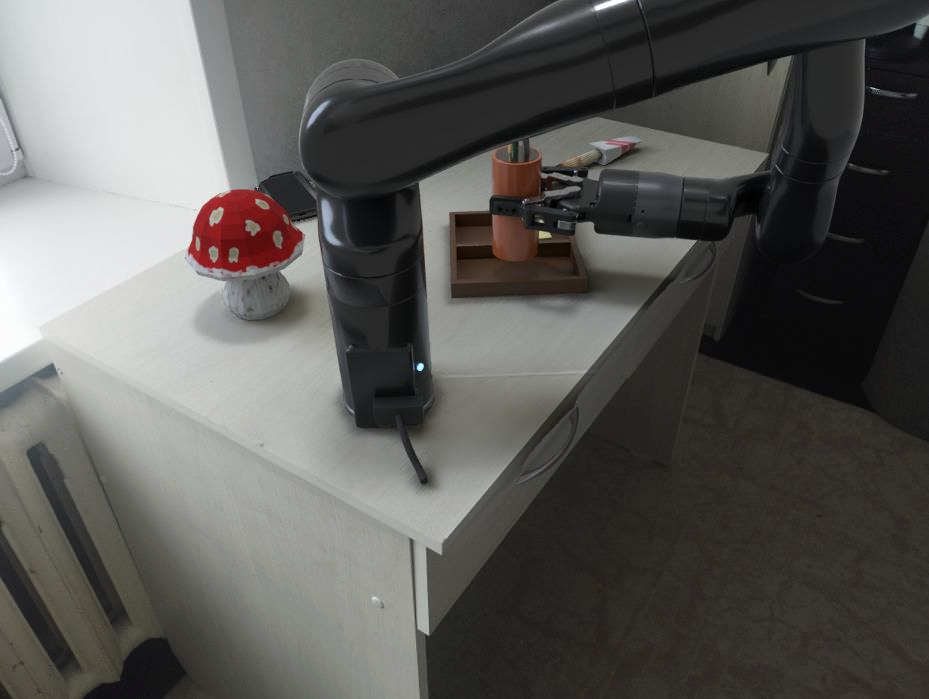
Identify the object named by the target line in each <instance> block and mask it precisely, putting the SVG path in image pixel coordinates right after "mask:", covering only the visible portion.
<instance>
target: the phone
mask: <svg viewBox="0 0 929 699" xmlns="http://www.w3.org/2000/svg"><path fill="white" fill-rule="evenodd" d="M271 175H272V176H270V175H269V176H270V177H269V178H268V179H266V180H264V181H262V182H261V183H260V184H259V188H258V190H257V188H256V187H255V188H254V187H253V190H254V191H258V192H261V193H264V194H266V195H268V196H269V197H270V198H272V199H273V200H274V201H275V202H276V203H278V204H279V205H280V206H281V207H282V208H284V209H285V211H286V212H287V214H288V216H289V218H290V220H291V222H294V221H298V220H302V219H306V218H310V217H316V216H317V204H316V192H315V186H313V185H312V183H310V181H309V180H308V179H307V178H306V177H305V176H304V174H303V173H302V171H301V170H289V171H285V172H281V173H280V172H279V173H275V174H271Z"/></svg>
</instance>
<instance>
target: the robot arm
mask: <svg viewBox="0 0 929 699" xmlns="http://www.w3.org/2000/svg"><path fill="white" fill-rule="evenodd" d="M928 16H929V0H556V1H554V2H552V3H550V4H548V5H546V6H545V7H543V8H541V9H539V10H537V11H536V12H534V13H533V14H531V15H529V16H528V17H526V18H525V19H523V20H522V21H520V22H519V23H517V24H516V25H514V26H513V27H511V28H510V29H509V30H507V31H506V32H505V33H503V34H501V35H500V36H497V38H495V39H494V40H493V41H491V42H489V43H488V44H486V45H484V46H483V47H482V48H480V49H478V50H476V51H474V52H473V53H471V54H469V55H468V56H465V57H463V58H461V59H459V60H456V61H454V62H450V63H448V64H446V65H443V66H440V67H436V68H434V69H429V70H426V71H423V72H419V73H416V74H413V75H408V76H405V77H401V78H399V77H398V75H397V74H396V73H395V72H393V71H392V70H391V69H389V68H388V67H387V66H385V65H383V64H382V63H378V62H376V61H373V60H370V59H364V58H349V59H344V60H340V61H337V62H335V63H333V64H331V65H330V66H328V67H326V68H325V69H324V70H322V71H321V72H320V74H318V75H317V77H315V79H314V80H313V82H312V83H311V85H310V87H309V89H308V90H307V93H306V96H305V99H304V104H303V110H302V115H301V119H300V124H299V132H298V153H299V160H300V163H301V166H302V168H303V171H304V173H305V175H306V176H307V177H308V179H309V180H310V181H311V182H312V183H313V185H314V189H315V192H316V204H317V215H316V217H317V218H316V221H317V237H318V243H319V249H320V256H321V262H322V268H323V273H324V280H325V285H326V286H325V288H326V293H327V301H328V308H329V312H330V318H331V325H332V332H333V338H334V344H335V350H336V356H337V362H338V368H339V375H340V381H341V387H342V399H343V406H344V408H345V410H346V412H347V413H348V414H349V415H350V417H352V418H353V419H354V423H355V427H356V428H378V427H380V428H381V427H384V428H385V427H386V428H388V427H397V429H398V433H399V436H400V439H401V443H402V445H403V449H404V450H405V452H406V455H407V457H408V459H409V461H410V463H411V465H412V467H413V469H414V470H415V473H416V475H417V477H418V480H419V483H420V484H421V485H426V484H427V483H428V482H429V479H428V477H427V474H426V472H425V469H424V466H423V465H422V463H421V461H420V459H419V458H418V455H417V454H416V452H415V449H414V448H413V445H412V444H413V443H412V442H411V439H410V437H409V433H408V430H407V426H417V425H423V424H424V422H425V421H424V416H425V413H427V411H429V409H430V407H432V404H433V402H434V400H435V384H434V380H433V379H434V378H433V364H432V351H431V335H430V321H429V307H428V306H429V305H428V304H429V303H428V292H427V291H428V288H427V273H426V270H427V269H426V256H425V242H424V222H423V211H422V199H421V189H420V182H422V181H424V180H426V179H428V178H431V177H432V176H435V175H437V174H440V173H442V172H443V171H446V170H449V169H450V168H453V167H455V166H457V165H459V164H462V163H464V162H466V161H468V160H471V159H474V158H476V157H478V156H481V155H483V154H485V153H486V154H487V153H488V152H491V151H495V150H496V149H498V148H500V147H504V146H508V145H509V144H513V143H516V142H519V143H520V142H522V141H523V140H526V139H529V140H530V139H532V138H536V137H539V136H542V135H546V134H548V133H551V132H553V131H557V130H559V129H563V128H566V127H568V126H572V125H574V124H577V123H581V122H585V121H588V120H591V119H595V118H600V117H602V116H606V115H608V114H611V113H614V112H618V111H621V110H624V109H627V108H630V107H633V106H636V105H639V104H641V103H645V102H648V101H651V100H654V99H657V98H659V97H663V96H665V95H667V94H670V93H672V92H676V91H679V90H681V89H683V88H686V87H690V86H692V85H696V84H698V83H702V82H705V81H709V80H712V79H715V78H718V77H721V76H725V75H728V74H731V73H735V72H739V71H741V70H745V69H748V68H752V67H755V66H758V65H761V64H764V63H768V62H772V61H776V60H779V59H784V58H787V57H791V56H793V60H792V61H793V63H792V68H791V74H790V75H791V76H790V82H789V88H788V93H787V97H786V98H787V99H786V103H785V106H784V110H783V115H782V118H781V122H780V126H779V129H778V132H777V137H776V140H775V143H774V146H773V147H774V148H773V151H772V154H771V159H770V169H769V170H764V171H763V170H762V171H758V172H753V173H746V174H739V175H735V176H730V177H724V178H712V177H711V178H710V177H708V178H707V177H696V176H683V175H677V174H671V173H667V172H660V171H646V170H634V169H617V168H603V169H602V170H600V172H599V177H598V180H596V179H592V178H589V167H588V166H582V167H572V166H556V165H542V173H541V195H540V196H537V197H528V198H523V199H522V197H514V196H502V195H492V194H491V196H490V198H489V201H488V207H489V209H488V211H489V212H490V213H491V214H492V215H502V216H513V217H521V220H522V221H524V228H526V229H531V230H537V231H543V232H549V233H555V234H561V235H567V236H573V235H575V236H576V229H577V225H578V224H582V223H593V231H594V232H595V234H598V235H604V236H605V235H607V236H617V237H627V238H638V239H639V238H641V239H649V240H650V239H651V240H652V239H653V240H660V239H662V240H663V239H676V240H688V241H696V242H697V241H699V242H700V241H701V242H713V243H714V242H721V241H723V240H724V239H726V238H727V237H728V236H729V235H730V233H731V230H732V228H733V225H734V221H735V220H736V219H738V218H741V217H745V216H752V215H753V216H754V215H755V227H754V237H755V244H756V247H757V249H758V250H759V252H760V253H761V254H762V256H763V257H765V258H766V259H767V260H768V261H770V262H773V263H775V264H779V265H784V266H789V265H790V266H791V265H796V264H799V263H802V262H805V261H806V260H809V259H810V258H811V257H812V256H814V255H815V254H817V252H818V251H819V250H820V249H821V248H822V246H823V245H824V243H825V241H826V239H827V236H828V234H829V230H830V226H831V221H832V217H833V212H834V208H835V204H836V198H837V192H838V188H839V184H840V180H841V178H842V176H843V174H844V172H845V170H846V168H847V165H848V162H849V160H850V157H851V155H852V152H853V150H854V147H855V145H856V142H857V140H858V137H859V134H860V131H861V127H862V122H863V118H864V117H863V116H864V107H865V94H866V93H865V92H866V91H865V87H866V86H865V54H866V53H865V52H866V40H867V39H872V38H875V37H878V36H882V35H886V34H889V33H892V32H895V31H898V30H901V29H903V28H906V27H908V26H911V25H913V24H915V23H917V22H920V21H921V20H923V19H925V18H927V17H928ZM549 174H551V175H549ZM534 205H540V206H534ZM535 220H542V221H543V222H544V223H542V222H536V221H535Z"/></svg>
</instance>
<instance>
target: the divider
mask: <svg viewBox="0 0 929 699" xmlns="http://www.w3.org/2000/svg"><path fill="white" fill-rule="evenodd" d="M456 248H457V259H479V258H498V257H496V256H495V255H494V254H493V252H492V242H482V243H457V244H456ZM569 251H570V240H569V239H567V240H539V249H538V253H537V255H536V256H564V255H569ZM536 256H534V257H536Z"/></svg>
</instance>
